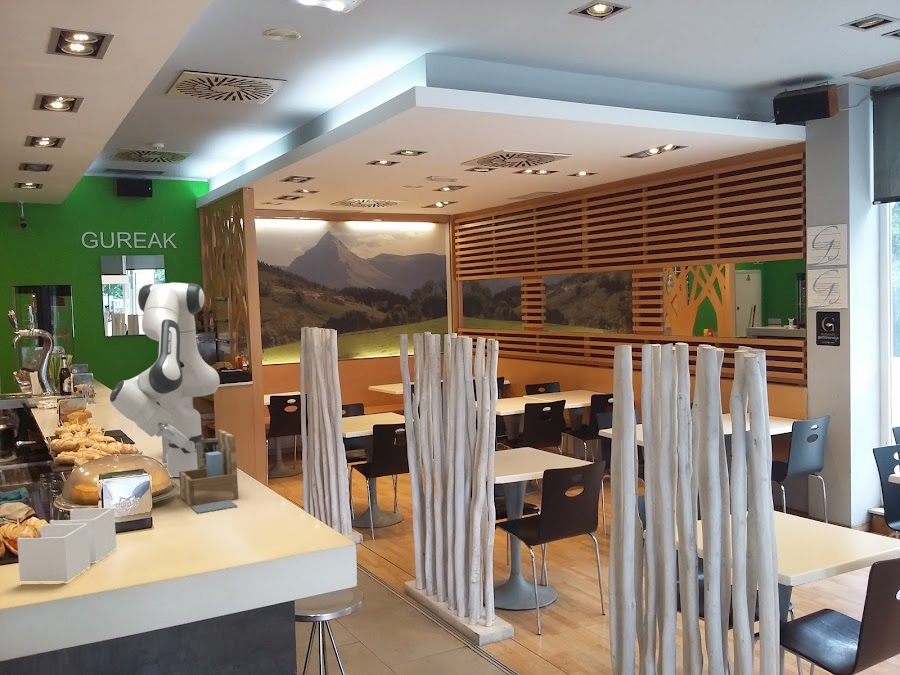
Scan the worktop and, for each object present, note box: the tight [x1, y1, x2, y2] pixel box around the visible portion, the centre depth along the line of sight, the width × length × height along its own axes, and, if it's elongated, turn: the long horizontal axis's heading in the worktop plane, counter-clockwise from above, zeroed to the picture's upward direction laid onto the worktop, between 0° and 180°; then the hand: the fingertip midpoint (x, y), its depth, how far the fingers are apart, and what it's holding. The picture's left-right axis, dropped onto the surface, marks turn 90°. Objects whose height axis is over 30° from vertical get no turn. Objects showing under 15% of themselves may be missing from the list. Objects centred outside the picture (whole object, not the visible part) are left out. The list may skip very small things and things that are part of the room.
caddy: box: [178, 429, 239, 507], centre depth 259 cm, size 16×14×20 cm
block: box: [206, 451, 223, 478], centre depth 260 cm, size 5×4×10 cm
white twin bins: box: [16, 507, 117, 582], centre depth 197 cm, size 25×11×11 cm, turn 178°
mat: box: [190, 500, 238, 515], centre depth 247 cm, size 9×12×1 cm
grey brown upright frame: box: [196, 437, 219, 469], centre depth 274 cm, size 9×6×16 cm
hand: (190, 449), depth 256 cm, fingers open, 8 cm apart
